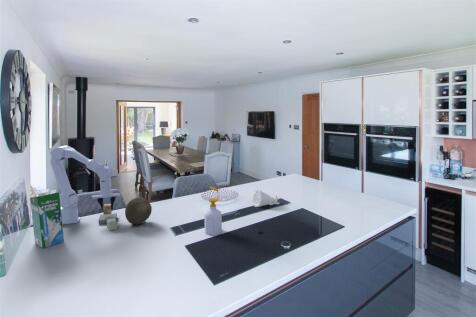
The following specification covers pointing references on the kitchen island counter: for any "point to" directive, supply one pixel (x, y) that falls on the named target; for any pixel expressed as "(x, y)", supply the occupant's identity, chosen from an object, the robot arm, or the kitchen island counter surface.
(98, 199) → the robot arm
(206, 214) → the soap bottle
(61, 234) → the milk carton
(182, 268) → the kitchen island counter surface
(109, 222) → the sage block
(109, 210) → the oak block
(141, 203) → the cantaloupe
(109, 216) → the slate base
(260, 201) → the rocket engine
